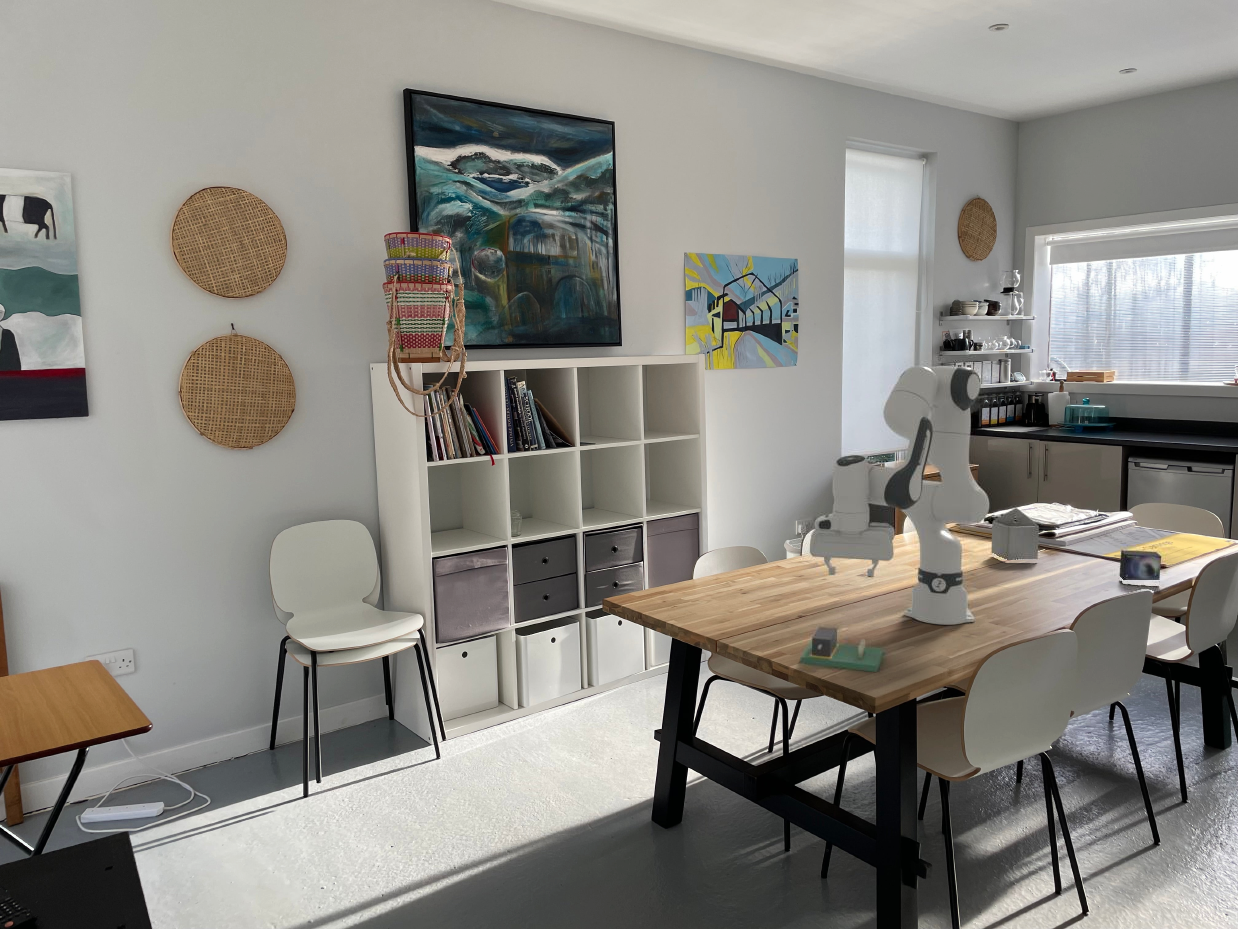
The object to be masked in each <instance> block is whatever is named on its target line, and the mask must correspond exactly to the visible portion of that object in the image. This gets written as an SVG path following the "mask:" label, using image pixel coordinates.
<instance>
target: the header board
mask: <svg viewBox="0 0 1238 929" xmlns="http://www.w3.org/2000/svg"><path fill="white" fill-rule="evenodd" d="M884 653H885V649H884V648H883V647H876V646H874V647H873V646H866V639H860V642H859V644H858V645H855V644H848V643H847V644H845V643H838V642H837V646H836V647H835V649H834V651H833V653H832V655H831V656H830V657H825V656H816V655H812V640H811V641H810V642H809V644H808V645H807V647H806V648H805V650H804V652H802V654H801V656H800V664H804V665H805V664H806V665H815V666H824V667H831V668H839V669H848V670H849V669H850V670H857V671H866V672H871V673H872V672H873V673H878V670H879V668H880V666H881V663H882V660H883V657H884V655H885V654H884Z"/></svg>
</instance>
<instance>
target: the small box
mask: <svg viewBox="0 0 1238 929" xmlns="http://www.w3.org/2000/svg"><path fill="white" fill-rule="evenodd" d="M1161 564H1162V555H1161V554H1159V553H1158V552H1157V551H1147V550H1129V549H1128V550H1127V549H1126V550H1125V549H1121V550H1120V564H1119V576H1120V577H1121V578H1122V579H1123V580H1160V577H1161V567H1162V566H1161Z"/></svg>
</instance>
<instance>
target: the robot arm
mask: <svg viewBox="0 0 1238 929" xmlns="http://www.w3.org/2000/svg"><path fill="white" fill-rule="evenodd" d="M980 392H981V379H980V376H979V374H978V373H977V371H976V370H975V369H973V368H970V367H968V366H967V367H966V366H959V367H958V366H950V365H937V366H924V365H923V366H922V365H914V366H911V367H909V368H907V369H906V370H904V371H903V373H902V374H900V376H899V378H898V379H897V381H896V383H895V384H894V387H893V389H892V390H891V392H890V394H889V396H888V397H887V400H886V402H885V405H884V408H883V414H882V415H883V418H884V419H883V420H884V422H885V424H886V425H887V427H889V429H890V430H891V431H893V432H894V433H895V434H896V435H898V436H900V437H902V438H903V439H906V440H907V441H909V442H908V445H907V450H906V453H905V454H906V455H905V457H904V461H903V464H902V465H899V466H897V467H888V466H880V465H874V464H872V463H870V462H868V461H867V458H866V457H865V456H863V455H858V454H854V455H852V454H851V455H846V456H841V457H840V458H838V459H836V461H835V464H834V468H833V474H832V495H833V501H834V502H833V506H832V513H829V514H825V515H820V516H819V517H818V518H816V519H815V521H814V524H813V527H814V530H813V532H812V533H811V535H810V541H809V554H810V555H811V556H812V557H813V558H814V557H815V558H823V559H824V560H823V562H824V564H825V565H826V567H827V569H828V575H830V576H836V572H837V571H836V569H837V568H836V566H833V565H832V563H831V560H832V559H845V560H846V559H849V560H850V559H852V560H864V561H865V560H866V561H867V560H869V561H871V564H872V567H871V568H867V571H866V573H867V575H866V576H867V578H874V577H875V569H876V568H877V566H878V564H879V563H880V561H883V562H886V561H887V562H889V561H891V560H892V559H893V557H894V551H895V550H894V542H893V540H894V538H895V534H896V533H895V528H894V526H892V525H891V524H889V523H888V522H877V521H876V522H874V521H873V522H872V521H870V506H869V504H872V505H878V506H886V507H890V508H895V509H899V510H901V511H902V513H904V514H905V515H906V516H907V518H908V519H909V520H910V522H911V523H912V525H913V526H914V528H915V530H916V535H917V536H918V537H917V538H918V540H919V541H918V542H919V567H918V571H917V581H918V582H917V583H916V584H915V585H914V586H913V587H912V588H911V604H910V606H909V607H908V608H907V609H906V610H904V613H903V614H904V616H905V617H910V618H913V619H914V620H917V621H920V622H924V623H928V624H934V625H948V626H949V625H960V624H964V623H972V622H973V623H974V622H975V621H976V620H975V616H974V615H973V614H972V612H971V611H970V609H969V608H968V607H969V603H968V594H969V593H968V591H967V590H966V589H965V587H964V586H963V579H964V573H963V570H962V561H963V560H962V559H963V558H962V556H963V555H962V554H963V546H962V543H961V541H960V540H959V539H958V538H957V536H955V535H953V533H951V532H950V530H949V529H948V527H947V524H946V523H951V524H958V525H971V524H979V523H981V522H982V521H983V520H984V519H985V518H986V517H987V516H988V514H989V510H990V500H989V497H988V494H987V493H986V492H985V491H984V490H983V489H982V488H981V486H980V485H978V483H977V481H976V480H975V478H974V476H973V474H972V471H971V467H970V458H969V456H970V453H969V452H970V440H971V438H970V437H971V426H972V425H971V422H972V420H971V419H972V418H971V406H972V405H974V404H975V402H976V401H977V399H978V397H979V395H980ZM930 411H931V414H930ZM929 414H930V418H929ZM927 462H928V463H929V464H930V465H931V466H932V467H934V468H935V469H937V471H938V472H939V475H940V479H941V481H934V480H933V481H932V480H923V479H924V475H925V470H926V465H927Z"/></svg>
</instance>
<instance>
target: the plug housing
mask: <svg viewBox="0 0 1238 929" xmlns="http://www.w3.org/2000/svg"><path fill="white" fill-rule="evenodd" d="M811 641H812V655H816V656H825V657H830V656H831V655H832V653H833V651H834V649H835V647H836V646H837V643H838V628H837V627H826V626H819V627H818V628H817V630H816V631H815V633H814V634H813V636H812V637H811Z"/></svg>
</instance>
